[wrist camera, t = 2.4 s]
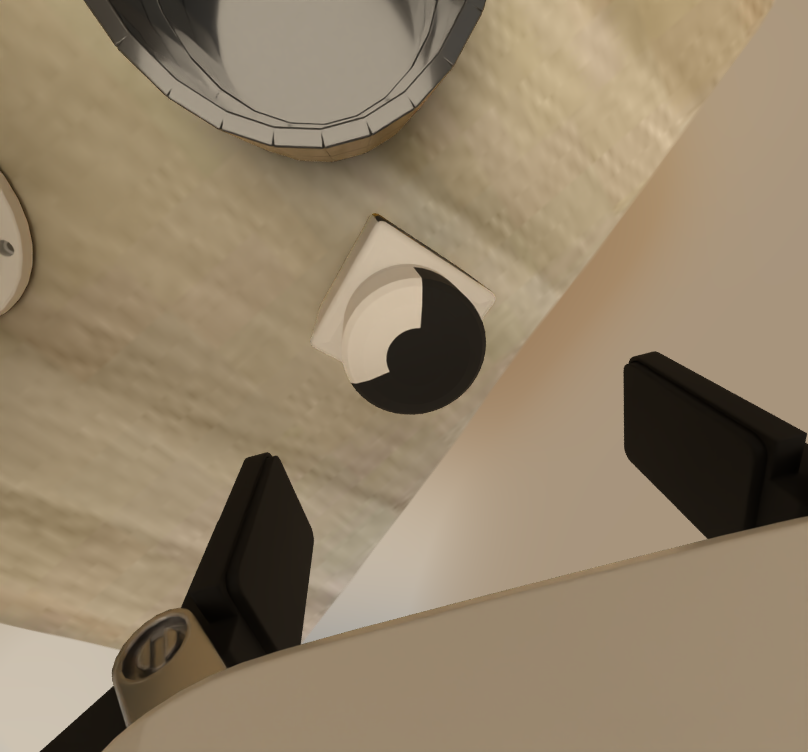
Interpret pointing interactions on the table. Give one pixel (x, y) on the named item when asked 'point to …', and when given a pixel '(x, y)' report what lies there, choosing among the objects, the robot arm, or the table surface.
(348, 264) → the medicine bottle
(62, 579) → the table surface
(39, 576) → the table surface
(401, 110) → the bucket
